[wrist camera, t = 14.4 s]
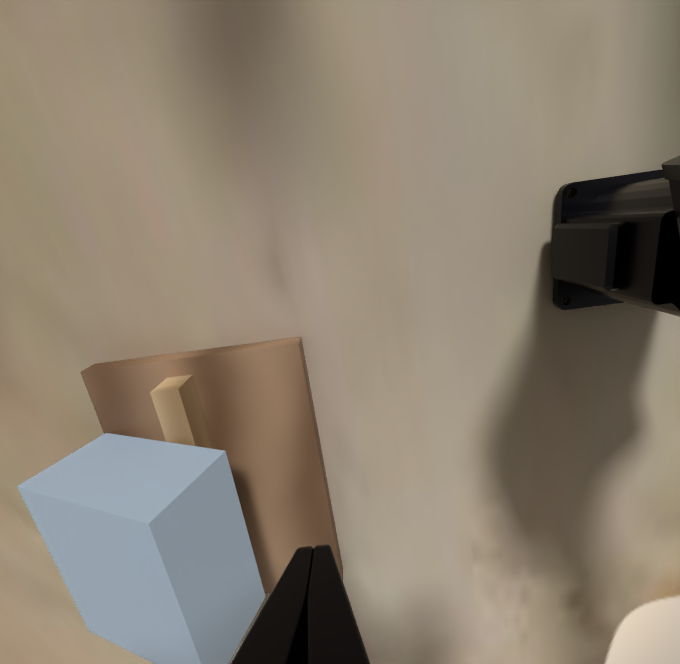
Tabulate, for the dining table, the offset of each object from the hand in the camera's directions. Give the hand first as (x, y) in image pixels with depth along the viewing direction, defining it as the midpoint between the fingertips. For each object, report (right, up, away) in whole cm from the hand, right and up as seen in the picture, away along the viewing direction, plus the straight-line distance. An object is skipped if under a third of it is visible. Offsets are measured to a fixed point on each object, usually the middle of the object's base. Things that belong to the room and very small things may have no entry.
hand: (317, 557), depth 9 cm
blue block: (-5, -6, +8) cm, 11 cm away
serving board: (-7, -4, +14) cm, 16 cm away
